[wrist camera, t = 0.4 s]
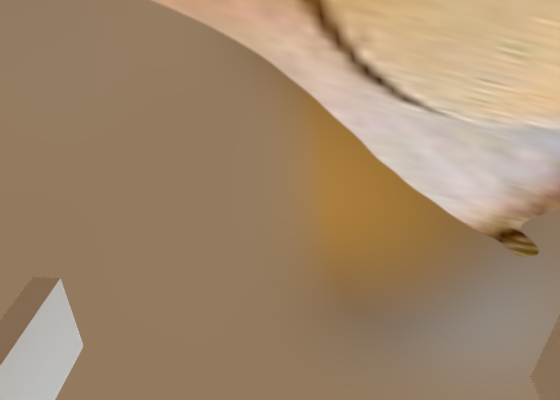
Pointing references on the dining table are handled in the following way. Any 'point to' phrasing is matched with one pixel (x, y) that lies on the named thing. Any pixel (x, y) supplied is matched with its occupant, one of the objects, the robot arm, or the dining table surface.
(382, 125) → the dining table surface
